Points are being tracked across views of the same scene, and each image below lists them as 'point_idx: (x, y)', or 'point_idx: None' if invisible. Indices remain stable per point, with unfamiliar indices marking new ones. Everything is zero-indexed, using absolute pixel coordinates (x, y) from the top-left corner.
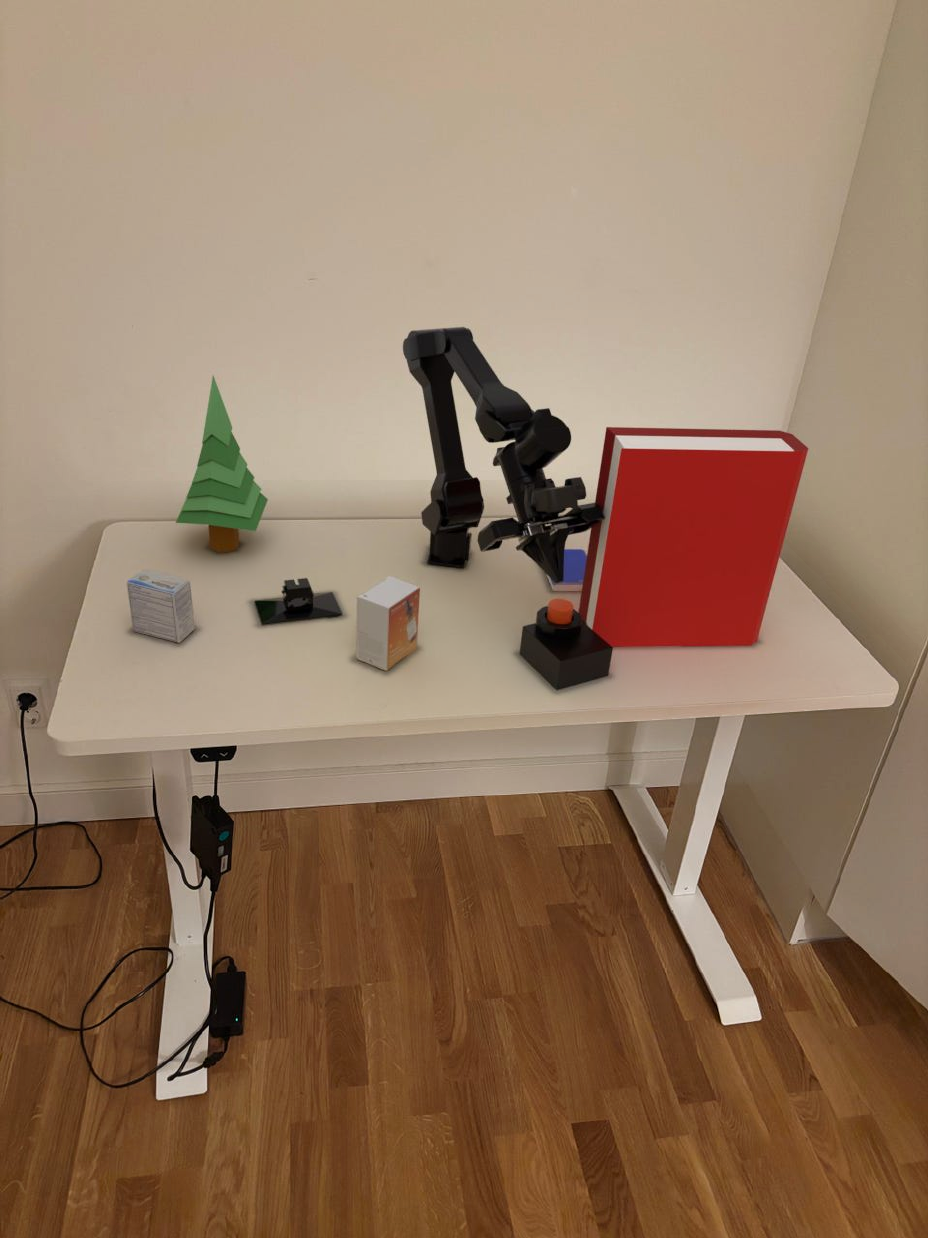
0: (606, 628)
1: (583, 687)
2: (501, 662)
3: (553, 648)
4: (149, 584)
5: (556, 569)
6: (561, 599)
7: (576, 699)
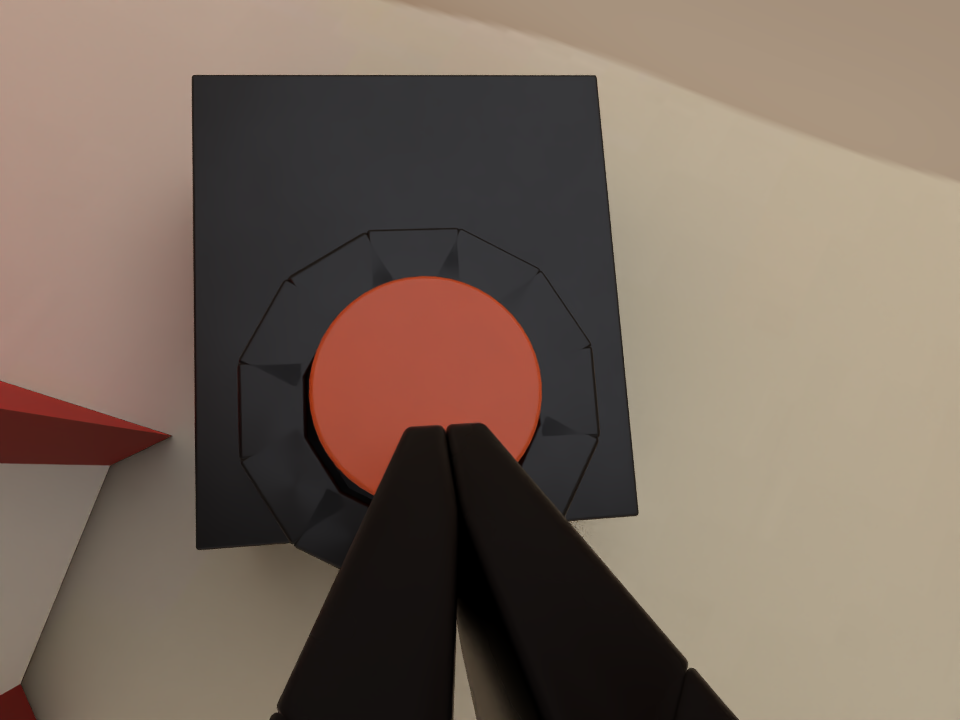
0: (25, 397)
1: None
2: (696, 471)
3: (572, 205)
4: None
5: (506, 527)
6: (370, 476)
7: None
